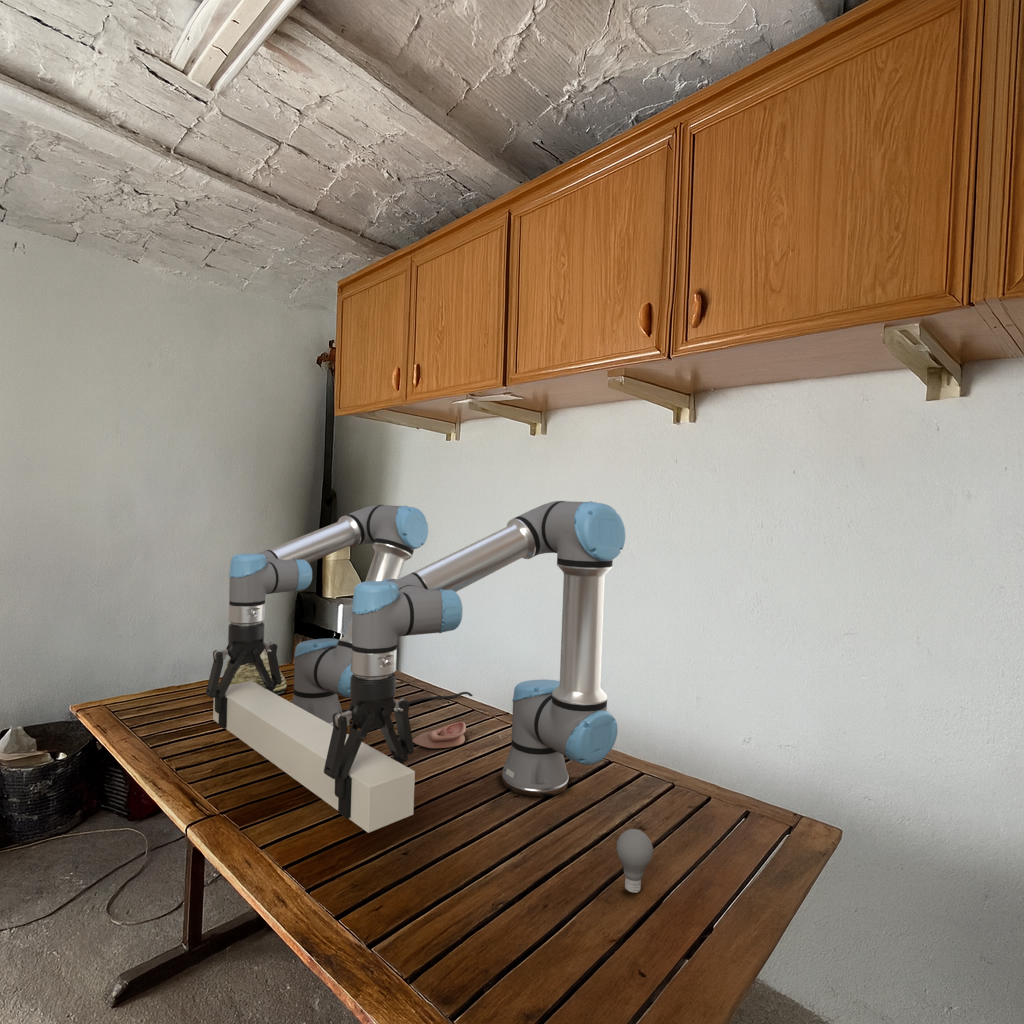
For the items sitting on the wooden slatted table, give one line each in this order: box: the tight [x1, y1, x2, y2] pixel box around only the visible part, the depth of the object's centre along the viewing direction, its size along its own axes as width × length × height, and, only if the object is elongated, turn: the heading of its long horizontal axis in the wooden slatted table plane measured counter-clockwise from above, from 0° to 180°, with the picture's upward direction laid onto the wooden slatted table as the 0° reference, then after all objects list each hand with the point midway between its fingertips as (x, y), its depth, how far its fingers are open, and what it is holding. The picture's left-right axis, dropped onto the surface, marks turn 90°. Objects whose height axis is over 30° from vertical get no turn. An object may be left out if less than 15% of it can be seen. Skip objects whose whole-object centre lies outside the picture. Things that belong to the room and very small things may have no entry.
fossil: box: [223, 650, 288, 695], centre depth 198 cm, size 9×18×15 cm, turn 132°
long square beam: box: [212, 681, 416, 834], centre depth 125 cm, size 65×9×7 cm, turn 45°
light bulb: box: [615, 828, 654, 894], centre depth 106 cm, size 6×6×10 cm
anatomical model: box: [412, 721, 467, 749], centre depth 167 cm, size 13×4×12 cm
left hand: (244, 721), depth 144 cm, fingers closed on long square beam, 9 cm apart
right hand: (369, 805), depth 107 cm, fingers closed on long square beam, 9 cm apart
